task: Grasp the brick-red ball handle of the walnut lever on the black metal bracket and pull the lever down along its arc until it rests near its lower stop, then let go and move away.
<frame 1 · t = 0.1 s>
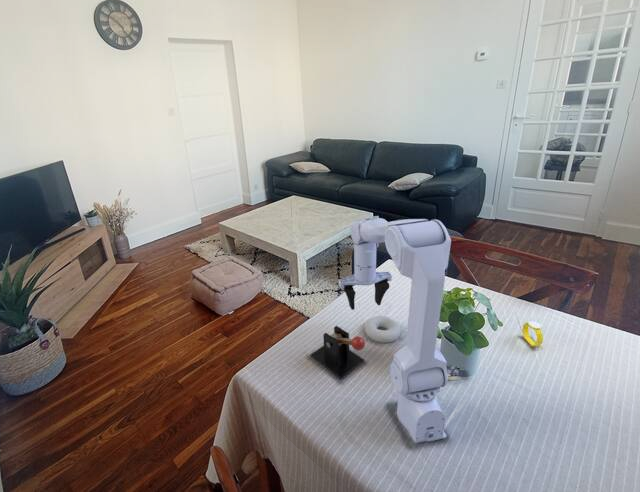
hand: (364, 305, 95), 10 cm above the table, tool pointing down, fingers open, 7 cm apart
lever: (347, 341, 84), point 9 cm above the table, hinge at 25.0°
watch: (530, 342, 90), on the table
donut: (382, 334, 98), on the table
bracket: (336, 360, 90), on the table
blueberries: (449, 371, 84), on the table
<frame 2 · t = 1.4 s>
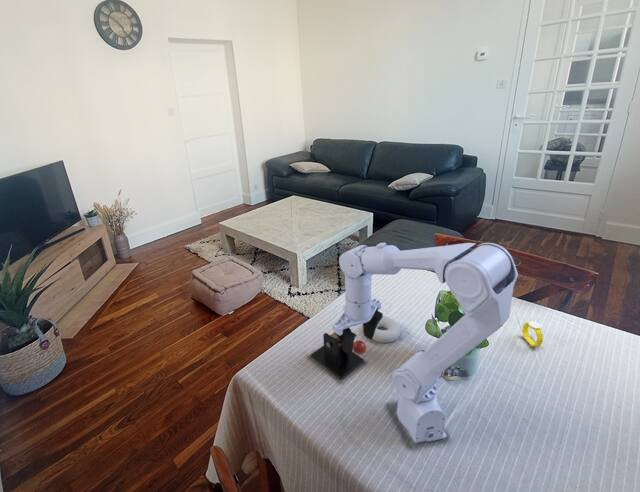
hand: (358, 344, 81), 10 cm above the table, tool pointing down, fingers open, 7 cm apart
lever: (347, 343, 84), point 8 cm above the table, hinge at 17.5°
everything else where it was.
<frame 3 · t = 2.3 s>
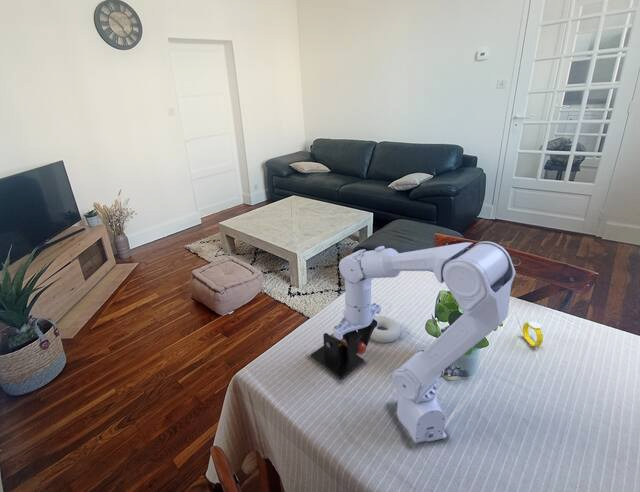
hand: (358, 348, 81), 9 cm above the table, tool pointing down, fingers closed on lever, 3 cm apart
lever: (347, 343, 84), point 8 cm above the table, hinge at 17.5°, touching gripper
everything else where it was.
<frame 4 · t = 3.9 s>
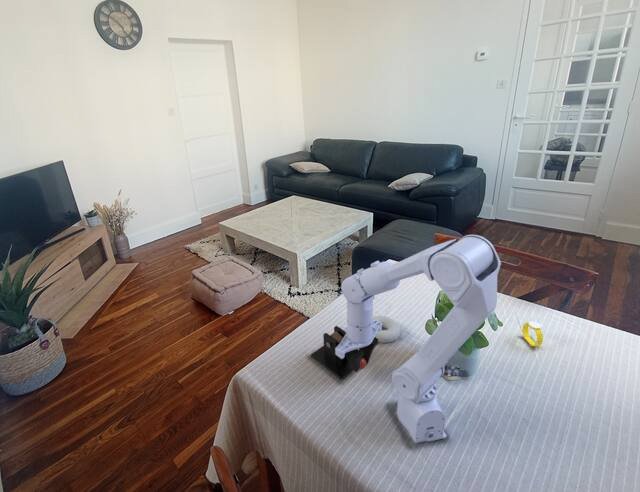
hand: (359, 365, 83), 4 cm above the table, tool pointing down, fingers closed on lever, 3 cm apart
lever: (347, 350, 85), point 6 cm above the table, hinge at -16.1°, touching gripper
everything else where it was.
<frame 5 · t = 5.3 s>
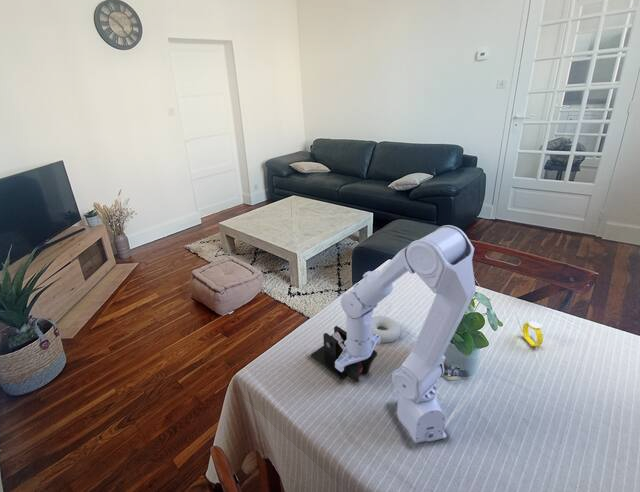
hand: (358, 377, 85), 0 cm above the table, tool pointing down, fingers closed on lever, 3 cm apart
lever: (346, 353, 86), point 5 cm above the table, hinge at -33.5°, touching gripper
everything else where it was.
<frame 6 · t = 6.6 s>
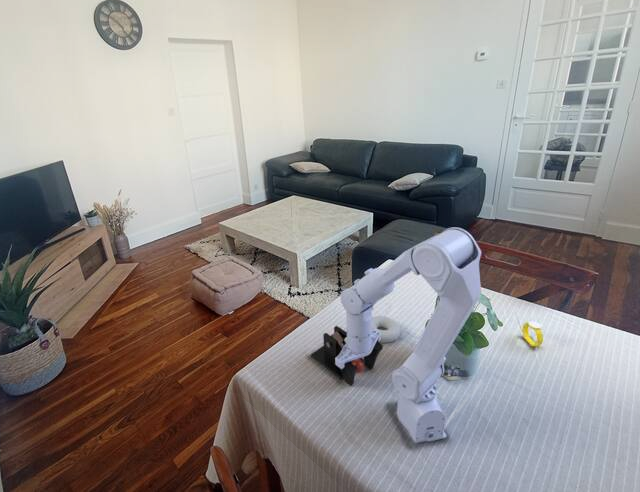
hand: (359, 374, 84), 1 cm above the table, tool pointing down, fingers open, 7 cm apart
lever: (346, 352, 85), point 5 cm above the table, hinge at -28.0°
everything else where it was.
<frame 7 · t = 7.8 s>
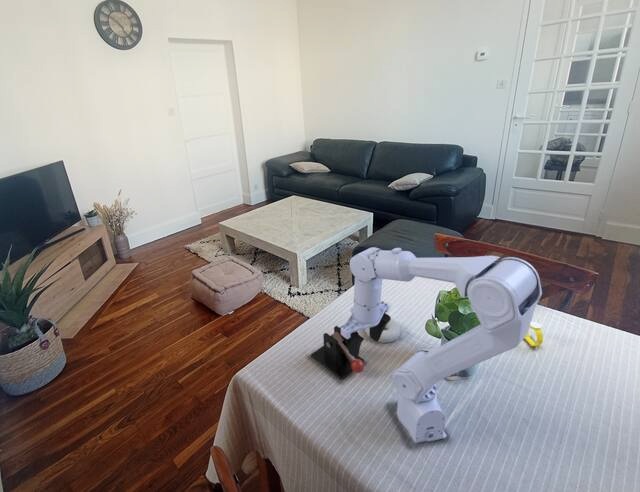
hand: (364, 346, 79), 10 cm above the table, tool pointing down, fingers open, 7 cm apart
nothing on the table moved.
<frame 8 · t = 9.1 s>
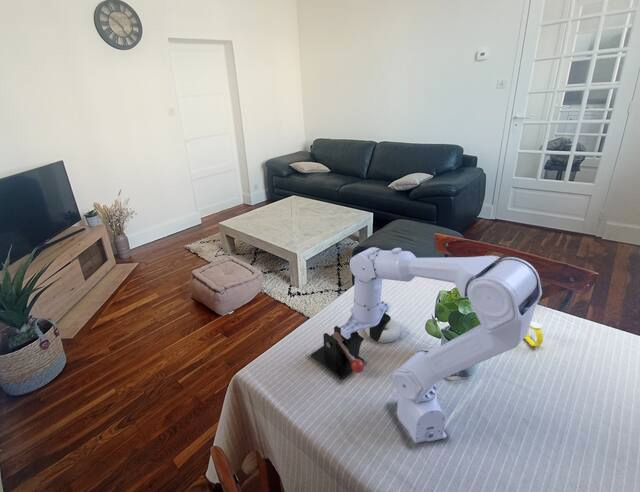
hand: (364, 346, 79), 10 cm above the table, tool pointing down, fingers open, 7 cm apart
nothing on the table moved.
at the end: lever at -28° (first picture: +25°); the gripper is holding nothing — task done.
